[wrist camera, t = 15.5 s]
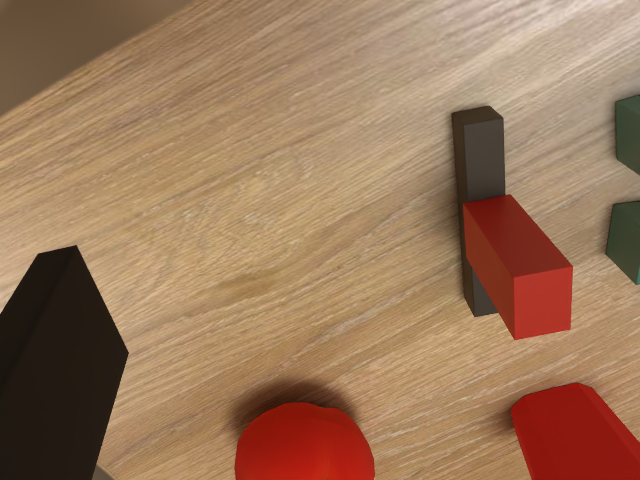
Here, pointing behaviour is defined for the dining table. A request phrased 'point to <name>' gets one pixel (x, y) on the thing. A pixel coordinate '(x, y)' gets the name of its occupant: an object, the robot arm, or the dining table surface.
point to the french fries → (574, 436)
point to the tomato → (303, 446)
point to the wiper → (504, 238)
